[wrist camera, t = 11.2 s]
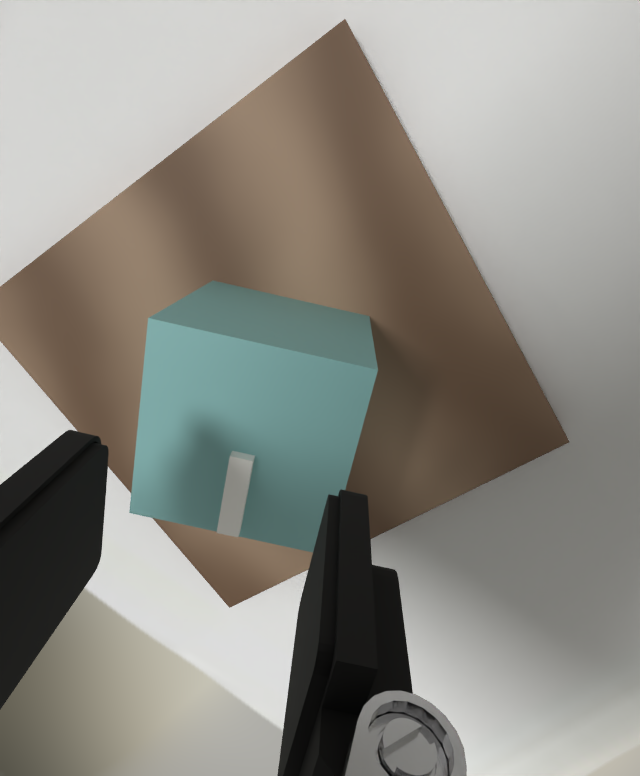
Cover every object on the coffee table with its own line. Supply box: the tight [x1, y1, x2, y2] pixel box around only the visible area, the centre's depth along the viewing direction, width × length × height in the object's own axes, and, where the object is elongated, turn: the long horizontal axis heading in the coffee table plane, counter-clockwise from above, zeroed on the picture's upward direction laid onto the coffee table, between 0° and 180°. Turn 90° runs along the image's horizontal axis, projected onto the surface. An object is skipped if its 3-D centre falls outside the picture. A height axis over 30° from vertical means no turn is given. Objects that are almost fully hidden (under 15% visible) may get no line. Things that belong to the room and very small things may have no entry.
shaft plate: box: [0, 19, 569, 608], centre depth 17 cm, size 16×16×4 cm
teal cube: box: [130, 281, 378, 552], centre depth 16 cm, size 6×6×6 cm
